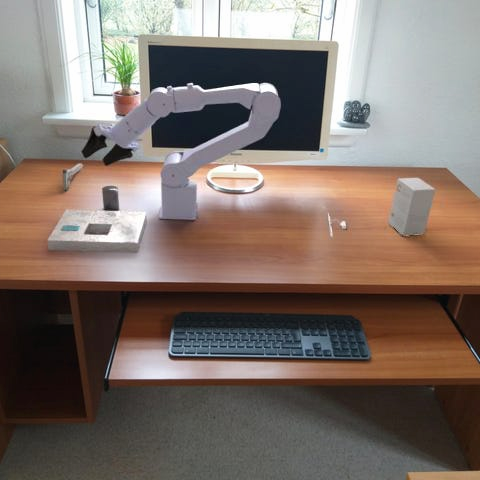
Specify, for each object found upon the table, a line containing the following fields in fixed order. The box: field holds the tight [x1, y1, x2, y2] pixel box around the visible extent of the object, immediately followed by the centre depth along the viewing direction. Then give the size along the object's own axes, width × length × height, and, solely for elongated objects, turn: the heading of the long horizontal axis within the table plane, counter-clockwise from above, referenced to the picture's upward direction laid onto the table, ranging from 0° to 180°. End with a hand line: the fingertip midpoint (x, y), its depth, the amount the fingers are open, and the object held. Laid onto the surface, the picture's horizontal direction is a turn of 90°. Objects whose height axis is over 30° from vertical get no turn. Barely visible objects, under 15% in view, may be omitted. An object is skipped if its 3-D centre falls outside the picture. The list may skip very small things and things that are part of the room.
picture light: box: [327, 213, 347, 238], centre depth 132 cm, size 14×4×2 cm, turn 175°
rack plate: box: [46, 208, 148, 253], centre depth 121 cm, size 20×16×3 cm
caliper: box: [61, 163, 84, 192], centre depth 150 cm, size 20×1×6 cm, turn 4°
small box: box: [387, 177, 436, 237], centre depth 130 cm, size 8×6×13 cm
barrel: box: [101, 185, 120, 211], centre depth 132 cm, size 4×4×6 cm
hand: (94, 158), depth 126 cm, fingers open, 7 cm apart
